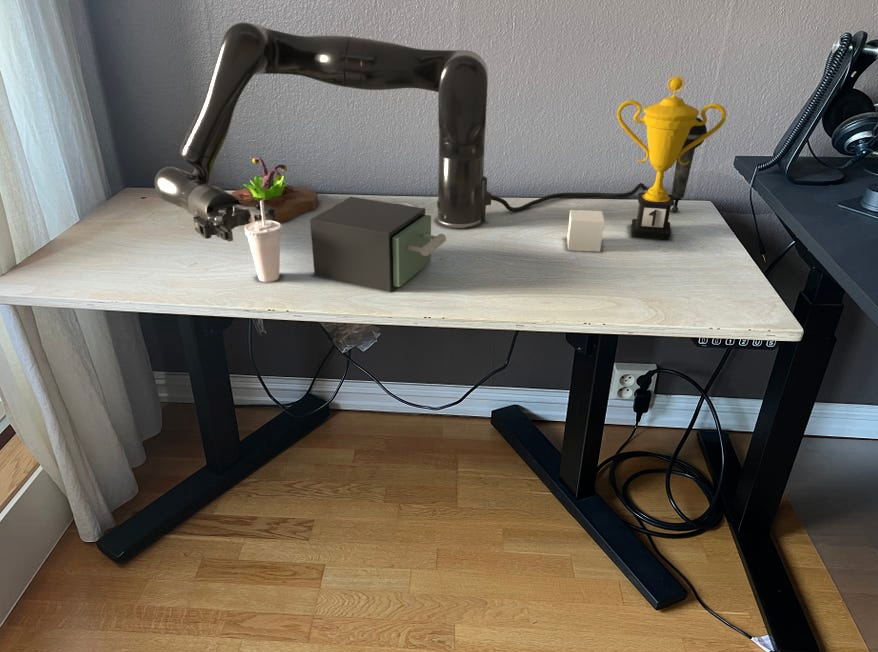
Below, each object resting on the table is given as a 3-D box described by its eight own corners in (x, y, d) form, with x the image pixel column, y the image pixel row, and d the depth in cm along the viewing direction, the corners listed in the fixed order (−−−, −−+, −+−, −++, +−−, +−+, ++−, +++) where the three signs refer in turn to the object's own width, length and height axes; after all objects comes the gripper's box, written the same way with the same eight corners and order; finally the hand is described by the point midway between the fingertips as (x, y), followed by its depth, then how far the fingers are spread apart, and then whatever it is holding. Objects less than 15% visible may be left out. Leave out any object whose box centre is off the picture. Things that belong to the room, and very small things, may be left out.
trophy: (600, 237, 143) (621, 78, 127) (602, 220, 151) (622, 69, 135) (702, 246, 138) (737, 82, 123) (698, 228, 146) (731, 72, 131)
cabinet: (425, 263, 133) (425, 208, 127) (390, 291, 123) (388, 233, 117) (353, 249, 139) (350, 196, 134) (314, 275, 129) (309, 219, 123)
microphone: (694, 210, 156) (714, 115, 146) (686, 219, 151) (706, 122, 141) (662, 204, 159) (679, 111, 149) (654, 213, 154) (670, 118, 144)
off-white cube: (597, 240, 141) (601, 211, 138) (600, 251, 136) (604, 221, 133) (566, 238, 142) (570, 209, 139) (567, 250, 137) (571, 220, 134)
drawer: (451, 265, 130) (452, 218, 125) (421, 292, 120) (421, 242, 116) (362, 248, 137) (361, 204, 133) (327, 272, 128) (324, 225, 123)
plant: (269, 188, 173) (264, 141, 168) (331, 202, 163) (327, 153, 158) (206, 211, 160) (198, 161, 154) (268, 228, 150) (262, 176, 144)
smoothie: (293, 272, 130) (285, 197, 123) (276, 287, 125) (267, 209, 118) (261, 268, 132) (252, 194, 125) (244, 282, 127) (233, 206, 119)
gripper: (175, 196, 133) (212, 219, 122) (245, 181, 140) (285, 201, 129) (182, 234, 137) (219, 260, 126) (250, 218, 144) (289, 240, 133)
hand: (252, 230), depth 127 cm, fingers open, 8 cm apart
